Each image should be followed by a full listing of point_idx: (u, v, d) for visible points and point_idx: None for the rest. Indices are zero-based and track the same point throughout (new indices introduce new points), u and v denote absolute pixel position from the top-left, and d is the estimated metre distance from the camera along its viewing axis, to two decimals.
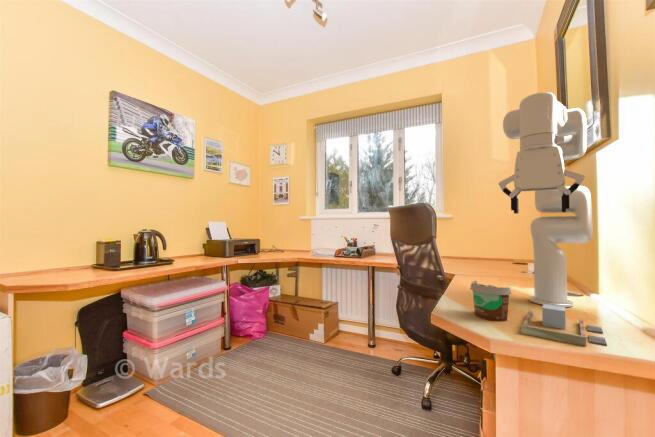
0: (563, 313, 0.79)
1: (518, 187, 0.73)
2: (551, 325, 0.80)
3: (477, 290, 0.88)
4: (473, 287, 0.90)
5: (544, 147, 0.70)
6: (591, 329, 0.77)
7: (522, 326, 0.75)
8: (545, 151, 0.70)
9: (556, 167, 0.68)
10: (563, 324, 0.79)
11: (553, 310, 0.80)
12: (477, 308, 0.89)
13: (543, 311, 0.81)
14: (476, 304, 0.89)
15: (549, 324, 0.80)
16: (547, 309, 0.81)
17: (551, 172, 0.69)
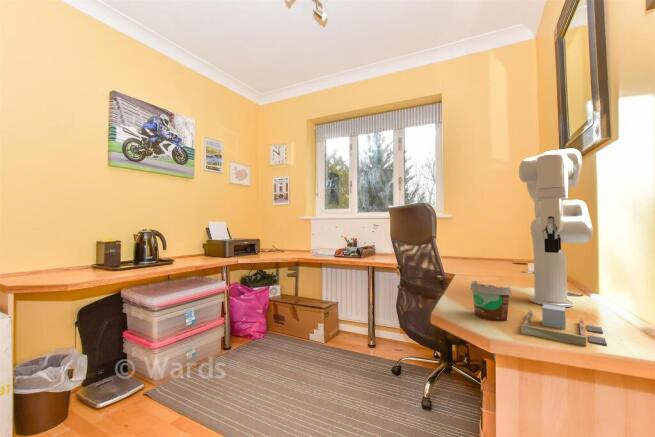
0: (563, 313, 0.79)
1: (559, 230, 0.84)
2: (551, 325, 0.80)
3: (477, 290, 0.88)
4: (473, 287, 0.90)
5: (562, 199, 0.87)
6: (591, 329, 0.77)
7: (522, 326, 0.75)
8: None
9: None
10: (563, 324, 0.79)
11: (553, 310, 0.80)
12: (477, 308, 0.89)
13: (543, 311, 0.81)
14: (476, 304, 0.89)
15: (549, 324, 0.80)
16: (547, 309, 0.81)
17: None
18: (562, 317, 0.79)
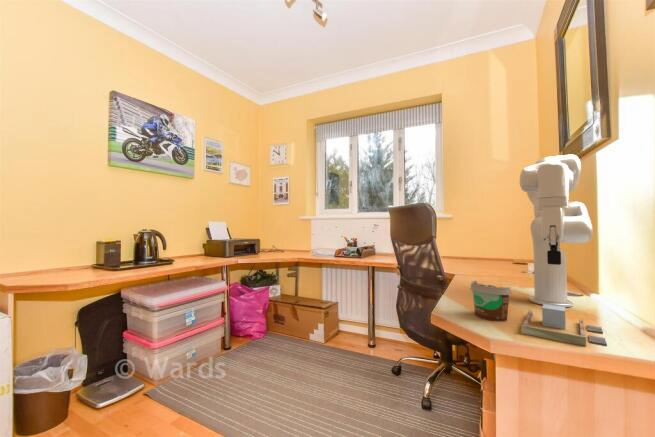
0: (563, 313, 0.79)
1: (561, 239, 0.84)
2: (551, 325, 0.80)
3: (477, 290, 0.88)
4: (473, 287, 0.90)
5: (563, 209, 0.88)
6: (591, 329, 0.77)
7: (522, 326, 0.75)
8: None
9: None
10: (563, 324, 0.79)
11: (553, 310, 0.80)
12: (477, 308, 0.89)
13: (543, 311, 0.81)
14: (476, 304, 0.89)
15: (549, 324, 0.80)
16: (547, 309, 0.81)
17: None
18: (562, 317, 0.79)
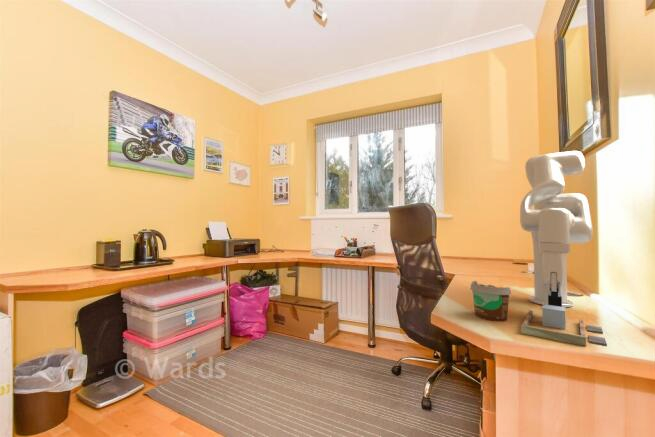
0: (563, 313, 0.79)
1: (562, 286, 0.84)
2: (551, 325, 0.80)
3: (477, 290, 0.88)
4: (473, 287, 0.90)
5: None
6: (591, 329, 0.77)
7: (522, 326, 0.75)
8: None
9: None
10: (563, 324, 0.79)
11: (553, 310, 0.80)
12: (477, 308, 0.89)
13: (543, 311, 0.81)
14: (476, 304, 0.89)
15: (549, 324, 0.80)
16: (547, 309, 0.81)
17: None
18: (562, 317, 0.79)
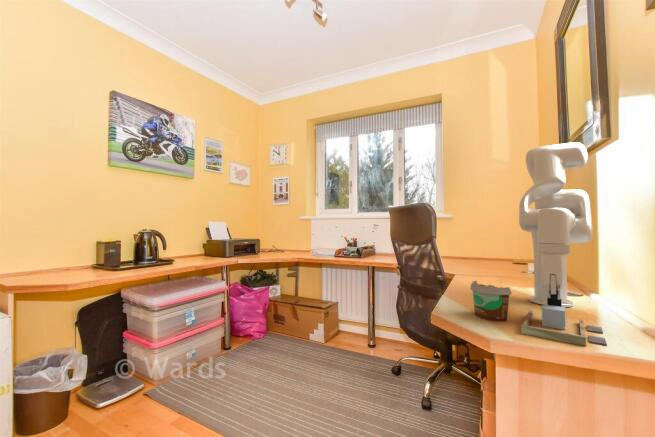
0: (563, 313, 0.78)
1: (562, 288, 0.81)
2: (551, 325, 0.80)
3: (477, 290, 0.88)
4: (473, 287, 0.90)
5: None
6: (591, 329, 0.77)
7: (522, 326, 0.75)
8: None
9: None
10: (563, 324, 0.78)
11: (553, 310, 0.80)
12: (477, 308, 0.89)
13: (543, 311, 0.81)
14: (476, 304, 0.89)
15: (549, 324, 0.80)
16: (547, 309, 0.80)
17: None
18: (562, 317, 0.78)
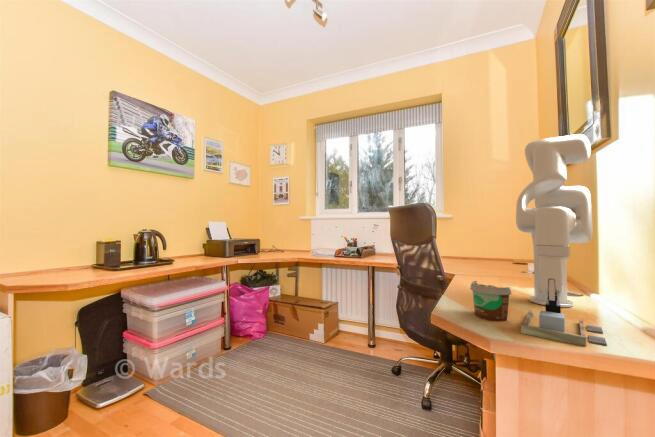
0: (562, 321, 0.72)
1: (561, 294, 0.74)
2: None
3: (477, 290, 0.88)
4: (473, 287, 0.90)
5: None
6: (591, 329, 0.77)
7: (522, 326, 0.75)
8: None
9: None
10: None
11: (551, 317, 0.73)
12: (477, 308, 0.89)
13: (540, 318, 0.75)
14: (476, 304, 0.89)
15: None
16: (544, 316, 0.74)
17: None
18: (561, 325, 0.72)
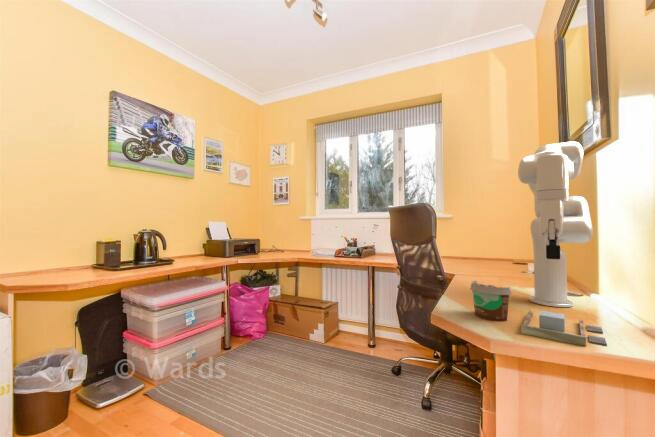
0: (562, 321, 0.72)
1: (560, 233, 0.81)
2: None
3: (477, 290, 0.88)
4: (473, 287, 0.90)
5: (563, 201, 0.85)
6: (591, 329, 0.77)
7: (522, 326, 0.75)
8: None
9: None
10: None
11: (551, 318, 0.73)
12: (477, 308, 0.89)
13: (540, 319, 0.75)
14: (476, 304, 0.89)
15: None
16: (544, 316, 0.74)
17: None
18: (561, 325, 0.72)
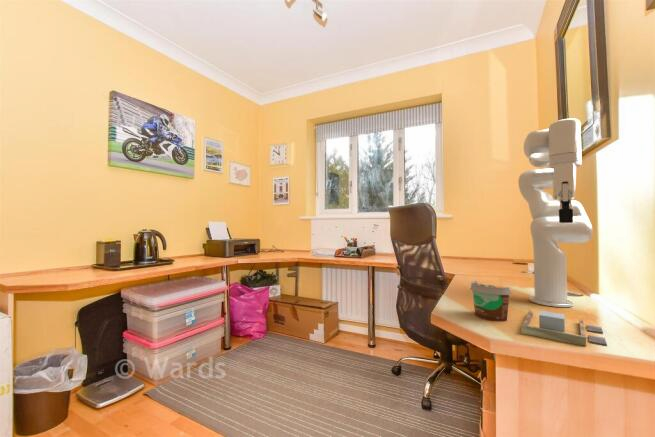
0: (562, 321, 0.72)
1: (573, 195, 0.82)
2: None
3: (477, 290, 0.88)
4: (473, 287, 0.90)
5: (575, 166, 0.86)
6: (591, 329, 0.77)
7: (522, 326, 0.75)
8: None
9: None
10: None
11: (551, 318, 0.73)
12: (477, 308, 0.89)
13: (540, 319, 0.75)
14: (476, 304, 0.89)
15: None
16: (544, 316, 0.74)
17: None
18: (561, 325, 0.72)
